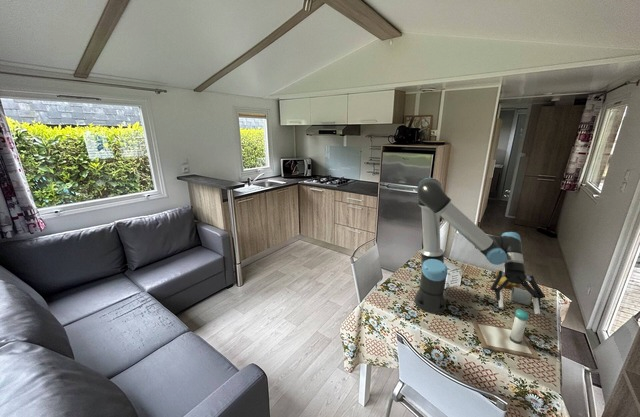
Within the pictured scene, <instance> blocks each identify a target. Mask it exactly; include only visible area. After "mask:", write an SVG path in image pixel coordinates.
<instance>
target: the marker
mask: <svg viewBox="0 0 640 417" xmlns="http://www.w3.org/2000/svg"><path fill="white" fill-rule="evenodd" d="M529 317H530V314H529V312H527V311H526V310H524V309H519V308H518V309H516V310H515V313H514V318H513V319H514V320H513V323H512V326H511V328H512V331H511V335H510V340H511V341H512V342H514V343H516V344H521V342H522V337H523V334H524V335H525V329H526V326H527V321H529V319H530V318H529Z"/></svg>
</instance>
